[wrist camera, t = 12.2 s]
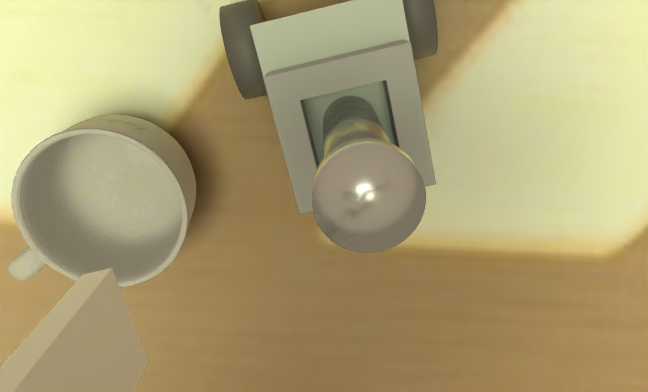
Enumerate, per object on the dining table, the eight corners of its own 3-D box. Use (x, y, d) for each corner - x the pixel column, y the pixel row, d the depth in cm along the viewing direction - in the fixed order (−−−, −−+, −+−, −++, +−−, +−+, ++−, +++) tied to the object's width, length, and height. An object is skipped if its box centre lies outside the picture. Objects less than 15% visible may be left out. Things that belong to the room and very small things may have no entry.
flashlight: (324, 162, 32) (325, 262, 19) (308, 97, 30) (299, 159, 18) (390, 147, 31) (434, 239, 19) (376, 80, 30) (414, 133, 18)
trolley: (272, 164, 42) (253, 226, 30) (229, 6, 38) (188, 7, 27) (438, 126, 41) (485, 174, 29) (409, -39, 37) (450, -60, 26)
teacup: (164, 81, 40) (128, 99, 32) (234, 210, 43) (216, 254, 36) (1, 159, 42) (-69, 193, 34) (80, 278, 45) (32, 333, 37)
